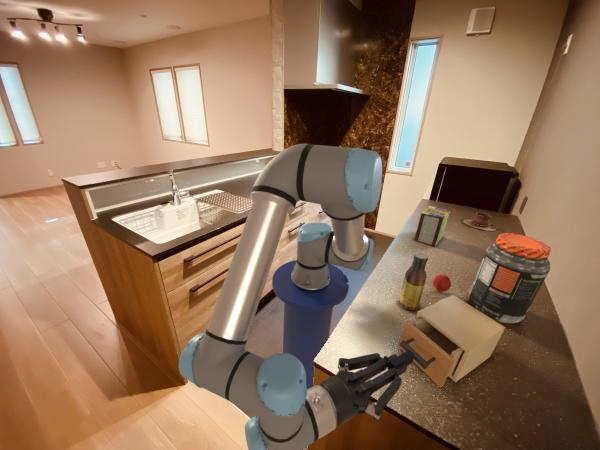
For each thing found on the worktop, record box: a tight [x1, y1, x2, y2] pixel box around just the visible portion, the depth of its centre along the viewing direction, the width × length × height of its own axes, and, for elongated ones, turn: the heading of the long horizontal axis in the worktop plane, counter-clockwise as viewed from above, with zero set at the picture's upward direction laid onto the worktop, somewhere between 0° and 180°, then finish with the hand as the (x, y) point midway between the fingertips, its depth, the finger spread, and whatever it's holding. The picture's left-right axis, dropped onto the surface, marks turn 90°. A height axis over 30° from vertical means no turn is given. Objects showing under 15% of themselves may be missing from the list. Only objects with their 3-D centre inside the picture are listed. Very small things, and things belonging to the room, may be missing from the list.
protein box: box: [414, 205, 451, 247], centre depth 129 cm, size 10×15×16 cm
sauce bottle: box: [399, 251, 429, 311], centre depth 80 cm, size 7×6×20 cm
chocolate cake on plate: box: [462, 212, 497, 232], centre depth 152 cm, size 18×18×7 cm
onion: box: [432, 273, 452, 293], centre depth 90 cm, size 6×6×8 cm
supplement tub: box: [468, 232, 552, 324], centre depth 79 cm, size 16×16×26 cm
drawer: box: [397, 318, 465, 388], centre depth 63 cm, size 19×13×9 cm, turn 118°
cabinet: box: [414, 294, 506, 383], centre depth 67 cm, size 16×14×11 cm
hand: (410, 356), depth 58 cm, fingers closed
